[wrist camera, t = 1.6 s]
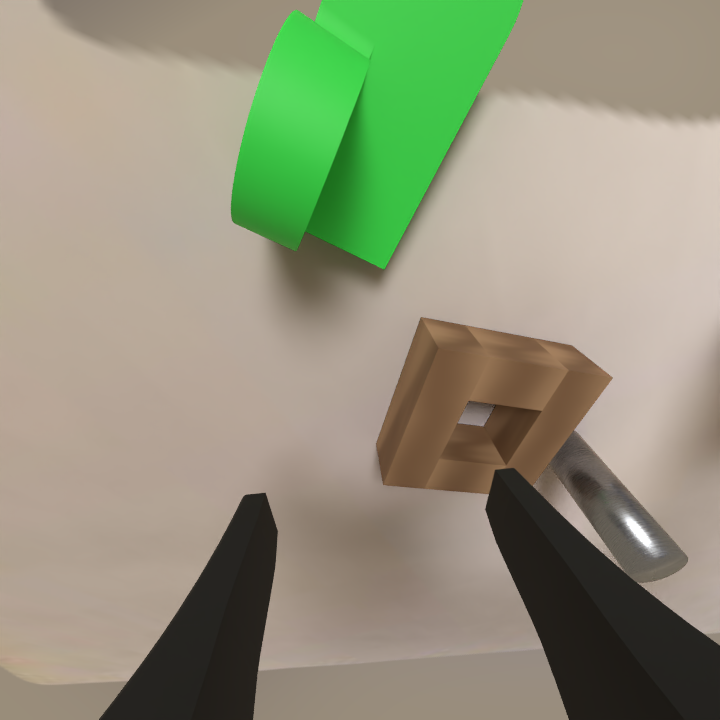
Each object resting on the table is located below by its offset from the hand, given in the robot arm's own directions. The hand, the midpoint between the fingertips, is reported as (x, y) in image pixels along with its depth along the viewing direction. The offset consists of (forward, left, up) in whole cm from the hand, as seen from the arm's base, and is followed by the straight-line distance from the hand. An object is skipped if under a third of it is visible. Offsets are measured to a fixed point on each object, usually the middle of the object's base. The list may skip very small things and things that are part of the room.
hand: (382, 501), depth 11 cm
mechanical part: (+2, -11, -11) cm, 16 cm away
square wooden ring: (-8, +3, -10) cm, 13 cm away
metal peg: (-17, +6, -10) cm, 21 cm away
